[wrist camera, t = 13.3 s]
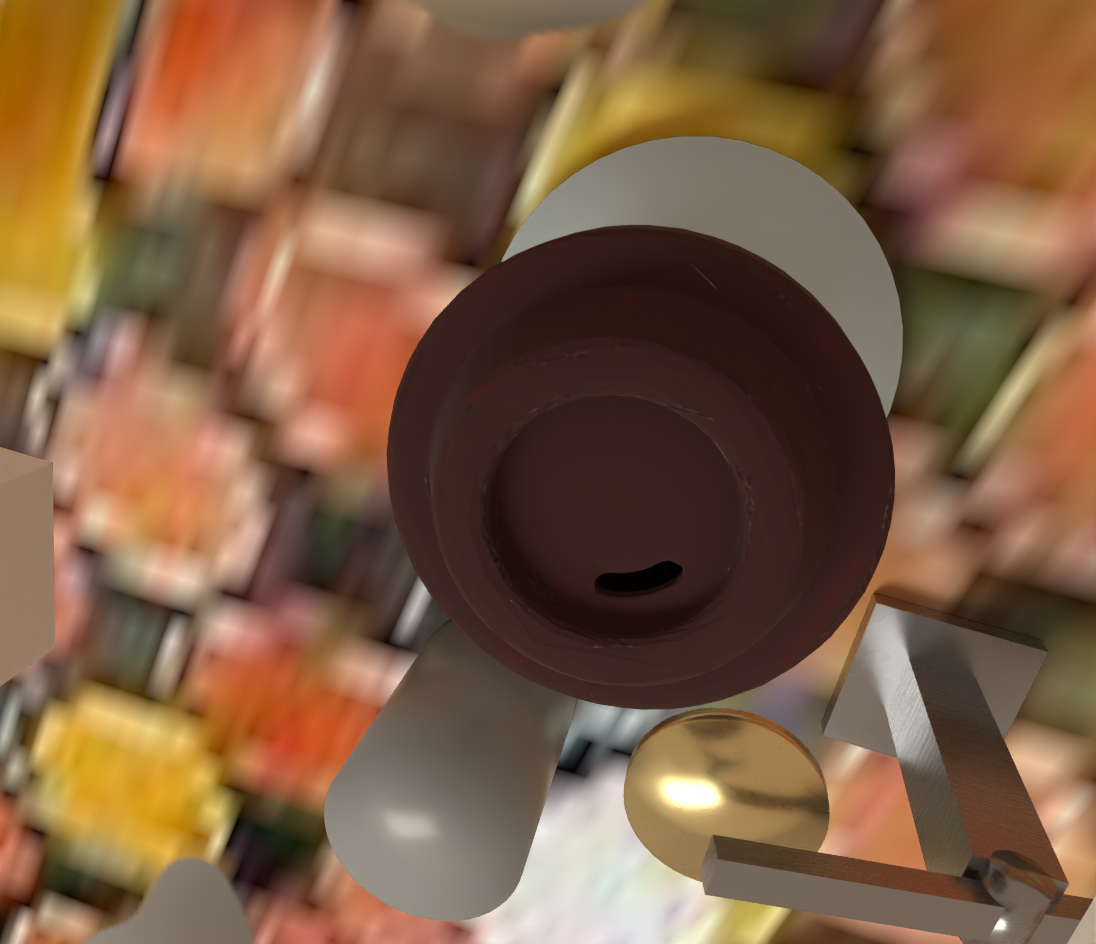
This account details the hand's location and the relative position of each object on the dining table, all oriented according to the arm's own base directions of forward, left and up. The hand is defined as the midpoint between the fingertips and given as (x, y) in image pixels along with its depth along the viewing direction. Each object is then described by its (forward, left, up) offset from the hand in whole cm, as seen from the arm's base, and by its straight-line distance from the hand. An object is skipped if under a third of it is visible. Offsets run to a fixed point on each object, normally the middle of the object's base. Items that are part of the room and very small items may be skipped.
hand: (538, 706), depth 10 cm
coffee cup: (0, 0, -21) cm, 21 cm away
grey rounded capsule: (-4, -16, -22) cm, 27 cm away
